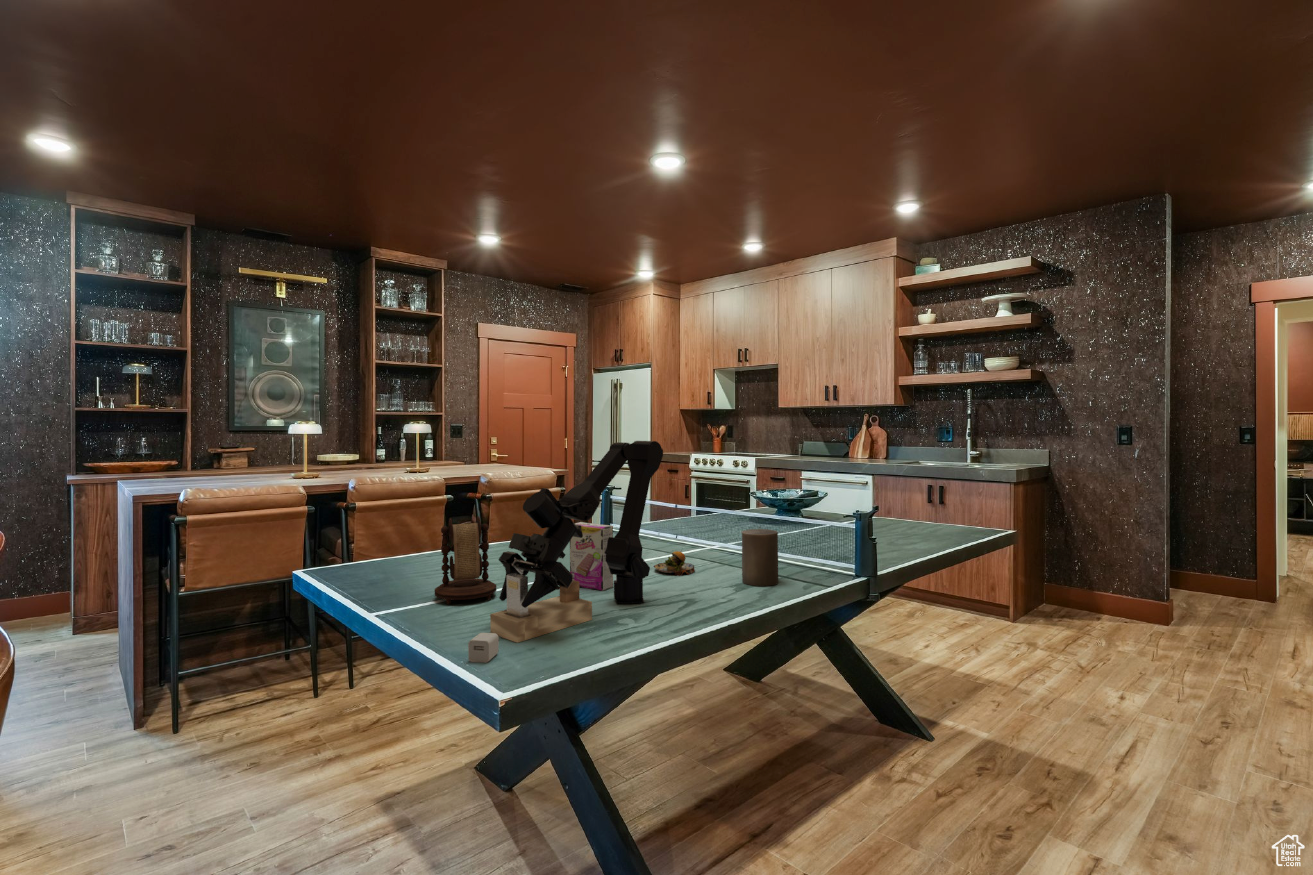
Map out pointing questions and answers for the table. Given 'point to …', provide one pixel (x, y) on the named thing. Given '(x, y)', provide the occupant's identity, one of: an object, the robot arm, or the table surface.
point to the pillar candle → (760, 557)
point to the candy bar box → (591, 557)
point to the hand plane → (544, 616)
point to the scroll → (465, 563)
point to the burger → (675, 565)
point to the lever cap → (516, 595)
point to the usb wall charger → (483, 647)
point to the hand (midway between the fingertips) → (511, 603)
